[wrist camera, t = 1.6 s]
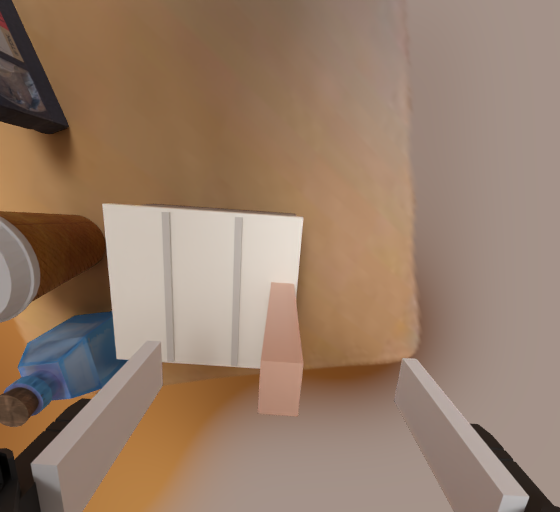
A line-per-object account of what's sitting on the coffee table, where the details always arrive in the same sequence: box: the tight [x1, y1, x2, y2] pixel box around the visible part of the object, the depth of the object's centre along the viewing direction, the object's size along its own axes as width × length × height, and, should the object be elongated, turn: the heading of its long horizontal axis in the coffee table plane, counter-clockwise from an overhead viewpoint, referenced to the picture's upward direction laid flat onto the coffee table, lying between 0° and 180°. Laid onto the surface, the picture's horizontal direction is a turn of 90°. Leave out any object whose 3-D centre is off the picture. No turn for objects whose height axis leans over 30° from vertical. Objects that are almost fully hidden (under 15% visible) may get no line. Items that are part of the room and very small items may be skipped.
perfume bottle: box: [0, 311, 128, 427], centre depth 27 cm, size 6×6×12 cm
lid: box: [102, 203, 303, 416], centre depth 19 cm, size 15×17×13 cm
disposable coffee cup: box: [0, 211, 105, 322], centre depth 25 cm, size 10×10×12 cm
